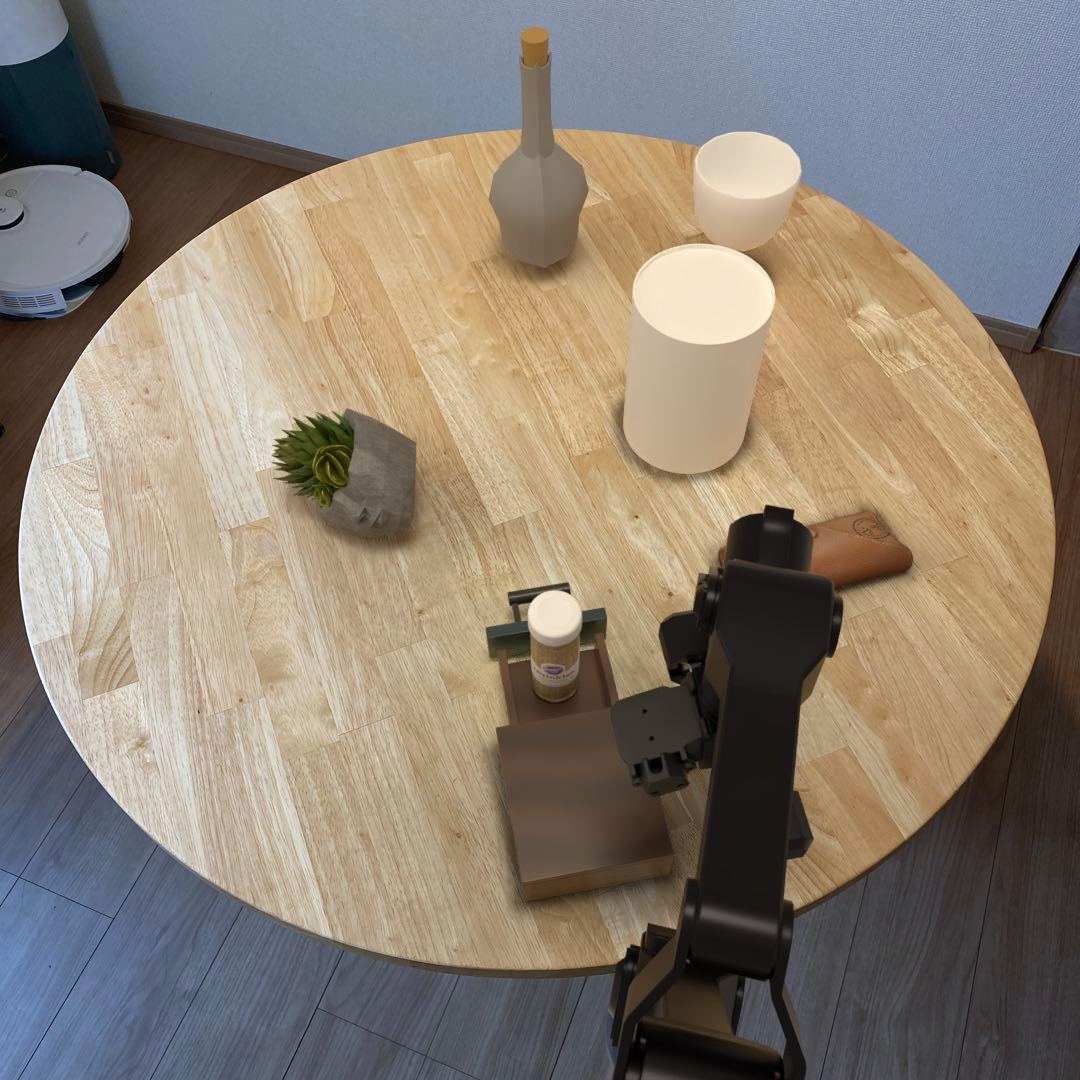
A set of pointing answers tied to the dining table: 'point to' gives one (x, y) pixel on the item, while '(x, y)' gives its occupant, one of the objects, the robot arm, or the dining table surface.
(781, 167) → the cup
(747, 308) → the canister
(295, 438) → the potted plant
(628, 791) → the cabinet
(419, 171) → the dining table surface
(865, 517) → the sunglasses case
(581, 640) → the drawer
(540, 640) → the sprinkles bottle
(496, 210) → the bottle
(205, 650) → the dining table surface
